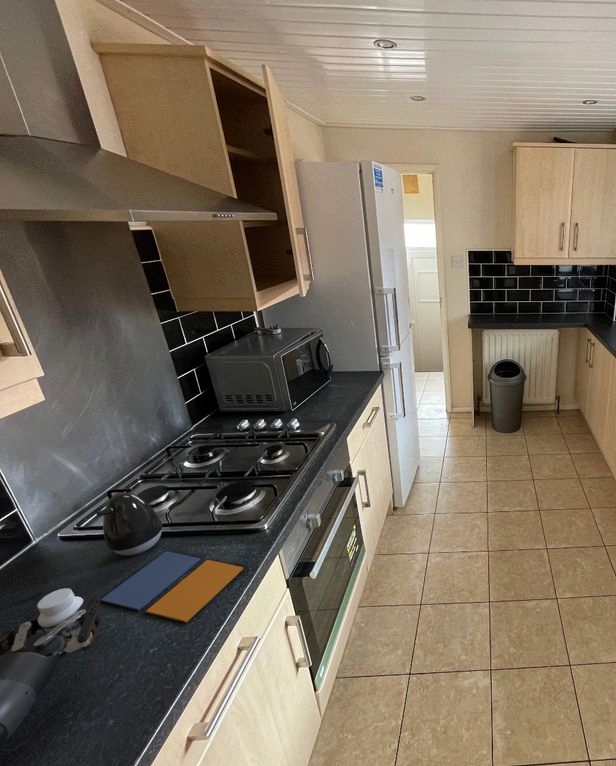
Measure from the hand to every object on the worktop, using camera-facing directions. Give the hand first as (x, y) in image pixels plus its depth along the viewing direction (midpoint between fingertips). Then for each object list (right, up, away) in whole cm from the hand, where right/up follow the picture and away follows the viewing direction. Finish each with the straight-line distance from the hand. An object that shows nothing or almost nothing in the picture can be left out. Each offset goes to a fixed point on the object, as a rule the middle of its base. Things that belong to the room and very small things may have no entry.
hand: (72, 602), depth 71 cm
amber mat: (+8, -7, +18) cm, 21 cm away
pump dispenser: (-15, -2, +30) cm, 33 cm away
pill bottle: (+1, -7, 0) cm, 7 cm away
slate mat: (-4, -6, +21) cm, 22 cm away
